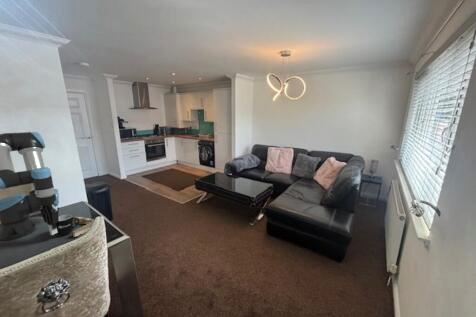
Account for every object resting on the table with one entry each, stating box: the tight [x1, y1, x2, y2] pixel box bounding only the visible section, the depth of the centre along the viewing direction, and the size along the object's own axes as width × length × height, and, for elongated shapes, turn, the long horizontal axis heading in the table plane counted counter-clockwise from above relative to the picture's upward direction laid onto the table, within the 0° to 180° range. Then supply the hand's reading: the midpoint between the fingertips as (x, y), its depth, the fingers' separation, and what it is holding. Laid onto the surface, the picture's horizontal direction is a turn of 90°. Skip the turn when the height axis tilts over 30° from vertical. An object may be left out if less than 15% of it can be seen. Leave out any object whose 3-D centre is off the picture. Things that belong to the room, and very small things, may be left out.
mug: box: [56, 214, 79, 237], centre depth 119 cm, size 12×9×10 cm
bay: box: [72, 215, 96, 238], centre depth 123 cm, size 19×14×4 cm
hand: (54, 233), depth 113 cm, fingers closed
